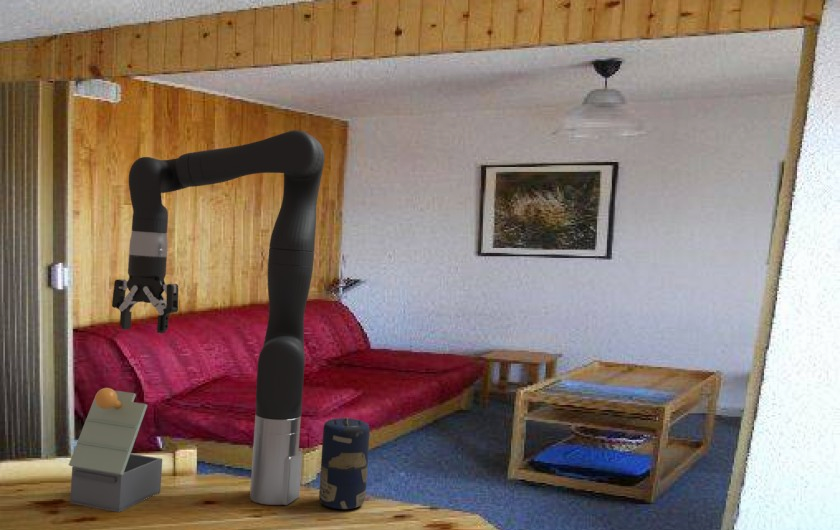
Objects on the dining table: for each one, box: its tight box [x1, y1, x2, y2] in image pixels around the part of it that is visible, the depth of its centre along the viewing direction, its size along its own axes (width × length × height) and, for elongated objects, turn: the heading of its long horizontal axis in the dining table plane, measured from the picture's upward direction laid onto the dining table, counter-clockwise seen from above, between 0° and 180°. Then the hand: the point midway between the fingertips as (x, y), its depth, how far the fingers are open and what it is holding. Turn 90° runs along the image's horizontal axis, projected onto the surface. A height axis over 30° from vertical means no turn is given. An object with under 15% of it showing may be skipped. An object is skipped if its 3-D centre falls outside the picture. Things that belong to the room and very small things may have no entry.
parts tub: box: [69, 453, 163, 513], centre depth 153 cm, size 11×14×7 cm
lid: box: [68, 387, 148, 475], centre depth 147 cm, size 12×15×7 cm
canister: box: [318, 416, 371, 510], centre depth 158 cm, size 10×10×18 cm
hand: (143, 331), depth 162 cm, fingers open, 8 cm apart
